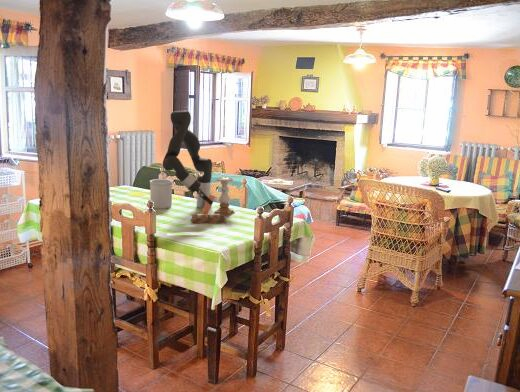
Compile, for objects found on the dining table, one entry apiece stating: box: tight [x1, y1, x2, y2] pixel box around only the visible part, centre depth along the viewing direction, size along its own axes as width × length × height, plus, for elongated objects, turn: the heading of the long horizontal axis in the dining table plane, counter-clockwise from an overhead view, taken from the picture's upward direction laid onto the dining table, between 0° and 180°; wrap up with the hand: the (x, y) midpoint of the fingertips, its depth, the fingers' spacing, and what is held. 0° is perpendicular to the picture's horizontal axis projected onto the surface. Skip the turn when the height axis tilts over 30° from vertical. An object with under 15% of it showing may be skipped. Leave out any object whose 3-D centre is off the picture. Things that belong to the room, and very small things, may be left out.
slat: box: [200, 194, 216, 214], centre depth 278 cm, size 4×2×14 cm, turn 102°
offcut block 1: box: [197, 213, 209, 218], centre depth 274 cm, size 6×3×4 cm, turn 101°
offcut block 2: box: [208, 213, 220, 218], centre depth 275 cm, size 6×3×4 cm, turn 101°
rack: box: [190, 213, 227, 225], centre depth 277 cm, size 20×11×4 cm, turn 101°
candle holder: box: [213, 177, 236, 217], centre depth 295 cm, size 11×11×24 cm
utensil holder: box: [149, 178, 173, 210], centre depth 314 cm, size 15×15×18 cm
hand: (211, 203), depth 278 cm, fingers closed on slat, 1 cm apart
